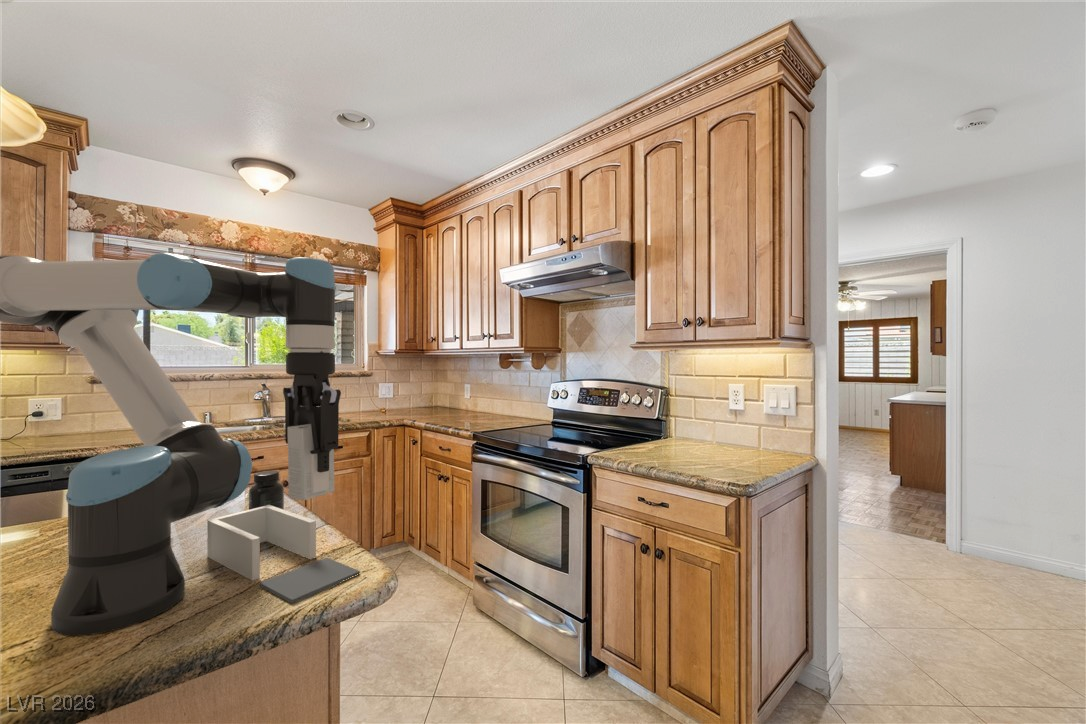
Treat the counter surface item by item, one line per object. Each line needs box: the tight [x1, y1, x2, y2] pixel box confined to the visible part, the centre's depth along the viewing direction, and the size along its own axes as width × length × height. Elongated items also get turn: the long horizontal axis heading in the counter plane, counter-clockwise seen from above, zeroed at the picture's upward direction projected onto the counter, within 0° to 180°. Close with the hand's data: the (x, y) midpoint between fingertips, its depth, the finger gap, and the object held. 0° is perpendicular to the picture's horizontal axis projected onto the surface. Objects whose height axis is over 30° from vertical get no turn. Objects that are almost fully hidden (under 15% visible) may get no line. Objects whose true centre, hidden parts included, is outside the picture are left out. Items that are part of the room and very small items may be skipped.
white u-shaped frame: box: [206, 505, 317, 581], centre depth 91 cm, size 11×17×7 cm, turn 56°
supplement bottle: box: [248, 470, 285, 510], centre depth 107 cm, size 7×7×12 cm
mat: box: [258, 557, 361, 604], centre depth 82 cm, size 12×10×1 cm
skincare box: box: [287, 424, 336, 501], centre depth 82 cm, size 6×4×12 cm
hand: (311, 488), depth 82 cm, fingers closed on skincare box, 4 cm apart
